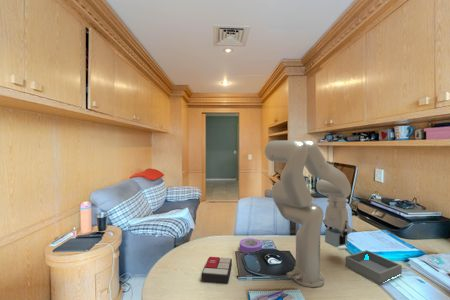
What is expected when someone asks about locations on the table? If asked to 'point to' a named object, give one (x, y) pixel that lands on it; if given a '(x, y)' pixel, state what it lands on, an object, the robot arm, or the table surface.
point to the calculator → (217, 270)
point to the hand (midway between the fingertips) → (336, 240)
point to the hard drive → (342, 247)
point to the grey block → (333, 237)
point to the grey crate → (373, 266)
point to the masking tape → (250, 245)
